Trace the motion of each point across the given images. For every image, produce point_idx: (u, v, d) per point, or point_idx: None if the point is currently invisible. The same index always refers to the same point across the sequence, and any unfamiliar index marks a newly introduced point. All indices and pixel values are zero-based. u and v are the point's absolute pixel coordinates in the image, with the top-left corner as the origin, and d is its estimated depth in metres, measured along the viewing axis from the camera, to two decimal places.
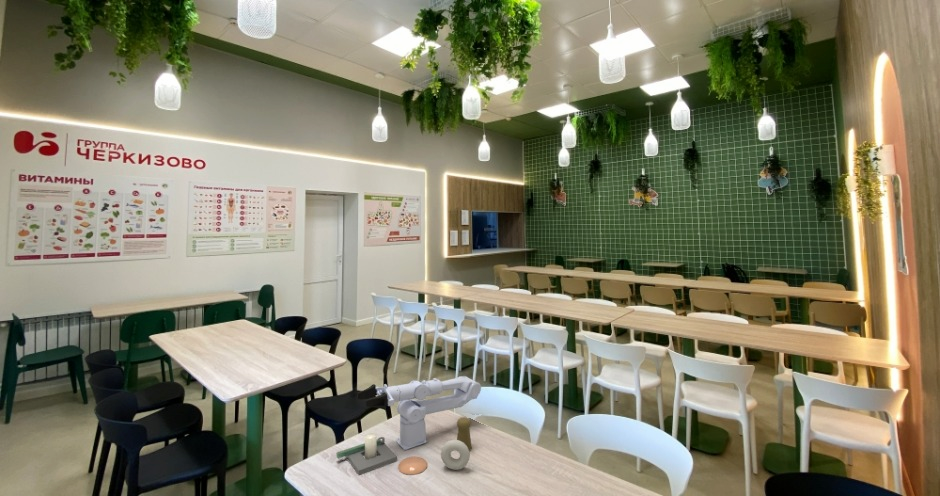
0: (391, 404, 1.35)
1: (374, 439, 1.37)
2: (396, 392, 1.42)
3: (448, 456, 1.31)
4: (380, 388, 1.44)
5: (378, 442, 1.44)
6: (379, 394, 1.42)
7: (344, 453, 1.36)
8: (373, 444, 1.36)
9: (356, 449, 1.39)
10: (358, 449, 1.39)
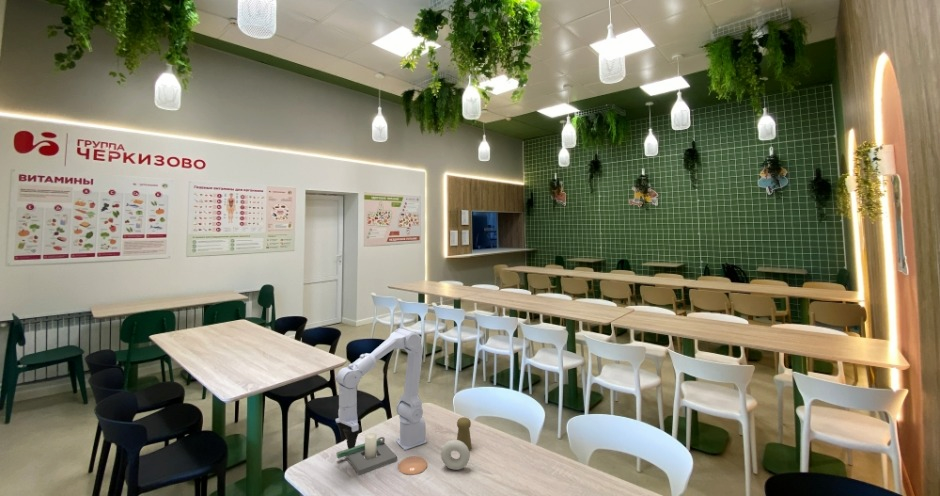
0: (357, 427, 1.25)
1: (374, 439, 1.37)
2: (346, 411, 1.27)
3: (448, 456, 1.31)
4: None
5: (378, 442, 1.44)
6: None
7: (344, 453, 1.36)
8: (372, 444, 1.36)
9: (356, 449, 1.39)
10: (358, 449, 1.39)
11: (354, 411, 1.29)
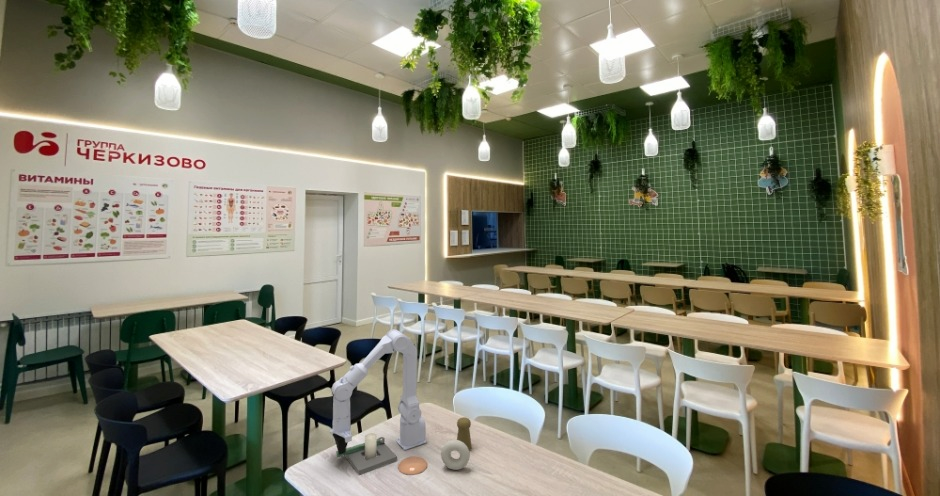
0: (350, 438, 1.30)
1: (374, 439, 1.37)
2: (339, 422, 1.33)
3: (448, 456, 1.31)
4: None
5: (378, 442, 1.44)
6: None
7: None
8: (373, 444, 1.36)
9: (355, 448, 1.39)
10: (357, 448, 1.39)
11: (347, 422, 1.34)
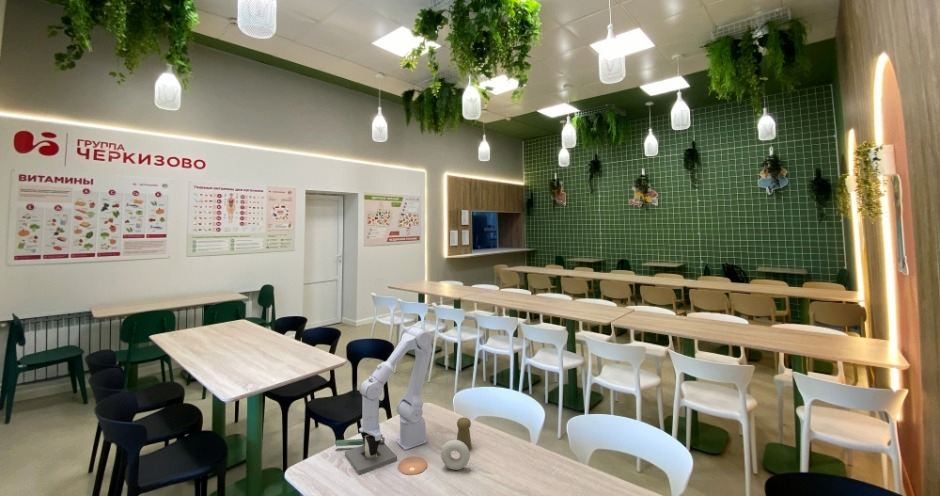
0: (380, 437, 1.32)
1: None
2: (369, 421, 1.35)
3: (448, 456, 1.31)
4: None
5: None
6: None
7: (342, 443, 1.43)
8: None
9: (354, 442, 1.43)
10: (356, 443, 1.43)
11: (377, 421, 1.36)
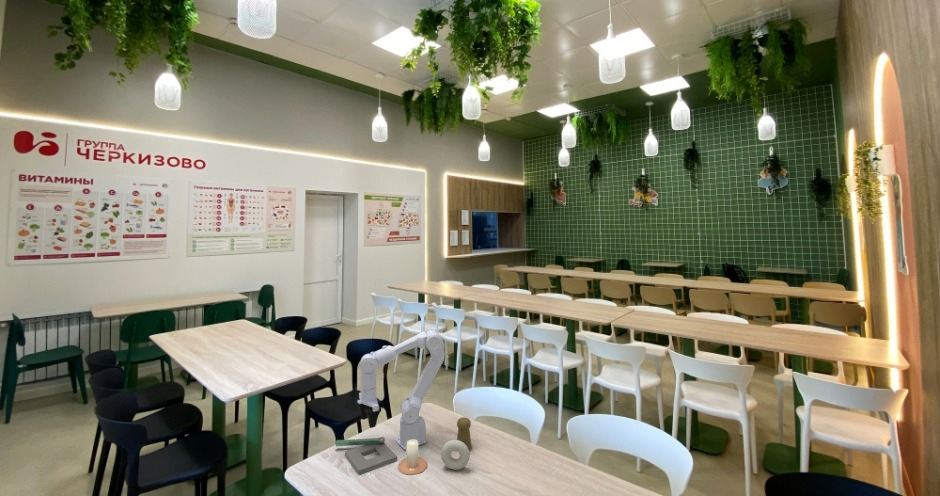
0: (377, 408, 1.39)
1: (416, 445, 1.32)
2: (367, 393, 1.41)
3: (448, 456, 1.31)
4: None
5: (376, 441, 1.44)
6: None
7: (342, 443, 1.43)
8: (415, 451, 1.32)
9: (354, 442, 1.43)
10: (356, 443, 1.43)
11: (374, 393, 1.43)
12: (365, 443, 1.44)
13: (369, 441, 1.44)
